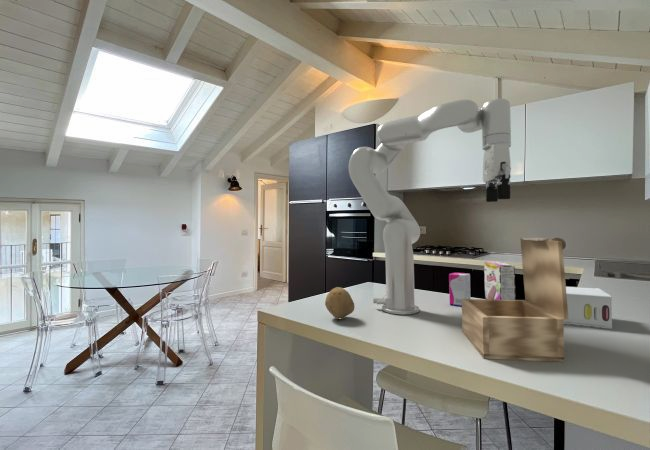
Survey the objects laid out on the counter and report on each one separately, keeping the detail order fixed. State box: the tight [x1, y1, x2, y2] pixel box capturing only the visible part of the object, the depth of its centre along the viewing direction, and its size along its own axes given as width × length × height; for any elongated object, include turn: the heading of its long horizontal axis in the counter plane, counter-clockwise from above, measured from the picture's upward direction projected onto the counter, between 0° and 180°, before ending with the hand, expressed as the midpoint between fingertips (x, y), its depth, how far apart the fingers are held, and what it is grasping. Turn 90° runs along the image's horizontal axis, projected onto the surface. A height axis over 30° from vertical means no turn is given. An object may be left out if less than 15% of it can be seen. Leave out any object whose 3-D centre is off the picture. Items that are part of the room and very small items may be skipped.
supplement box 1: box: [448, 272, 472, 308], centre depth 120 cm, size 6×6×12 cm
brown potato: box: [324, 286, 355, 319], centre depth 105 cm, size 9×9×10 cm
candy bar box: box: [483, 261, 516, 300], centre depth 109 cm, size 11×5×16 cm, turn 179°
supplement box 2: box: [536, 286, 613, 330], centre depth 100 cm, size 17×13×9 cm
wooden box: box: [461, 298, 565, 363], centre depth 79 cm, size 16×18×9 cm
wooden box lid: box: [519, 237, 569, 319], centre depth 78 cm, size 17×18×8 cm
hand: (497, 200), depth 97 cm, fingers open, 9 cm apart
